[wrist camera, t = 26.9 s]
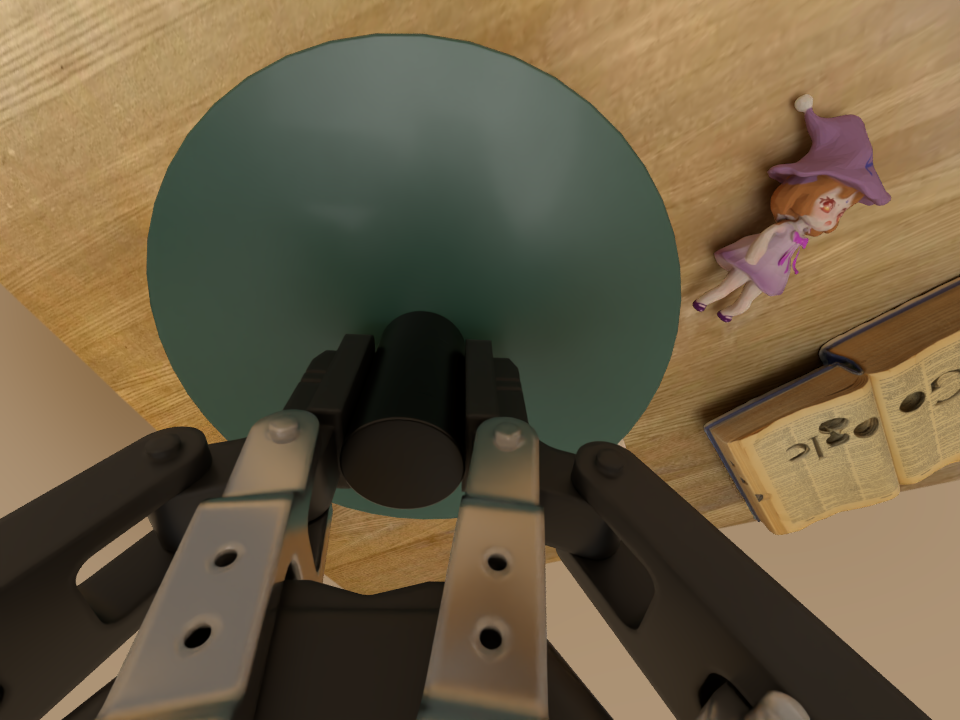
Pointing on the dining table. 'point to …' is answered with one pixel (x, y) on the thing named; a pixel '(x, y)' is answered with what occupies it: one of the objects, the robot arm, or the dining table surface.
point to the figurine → (800, 208)
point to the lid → (413, 255)
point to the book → (852, 419)
